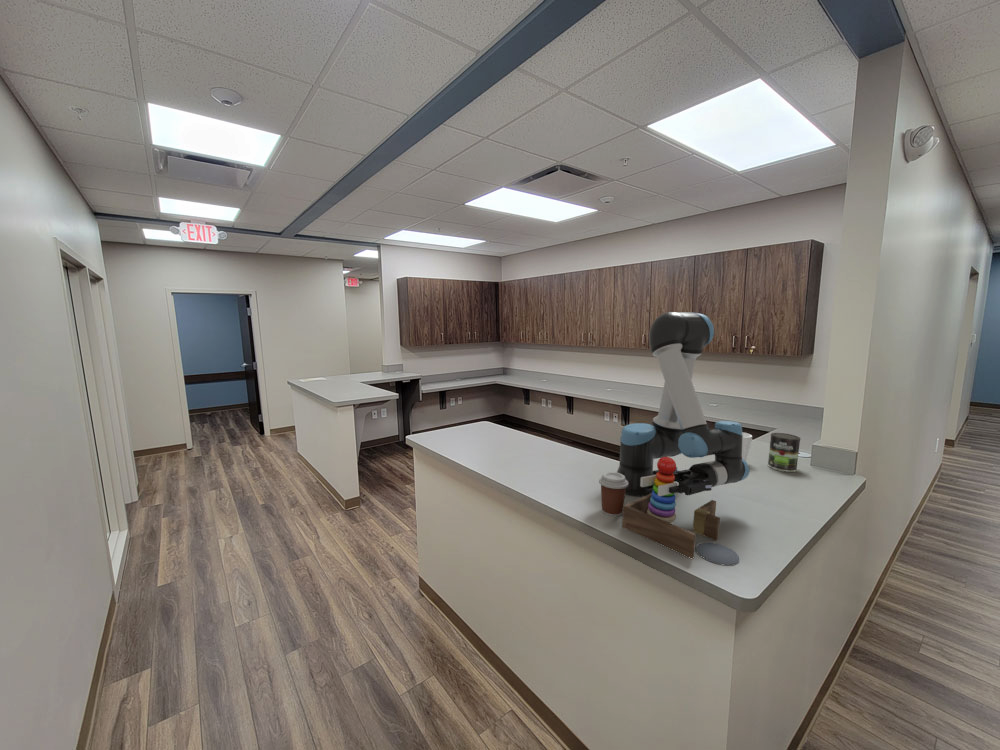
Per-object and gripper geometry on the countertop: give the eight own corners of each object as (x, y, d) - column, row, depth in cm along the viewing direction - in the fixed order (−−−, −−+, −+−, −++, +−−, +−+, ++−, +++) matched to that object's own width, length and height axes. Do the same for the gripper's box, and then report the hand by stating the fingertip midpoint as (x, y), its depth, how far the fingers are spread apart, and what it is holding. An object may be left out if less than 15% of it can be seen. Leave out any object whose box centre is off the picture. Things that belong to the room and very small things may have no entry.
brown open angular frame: (691, 559, 102) (693, 535, 101) (622, 526, 118) (623, 505, 117) (733, 528, 118) (735, 507, 117) (667, 503, 134) (668, 485, 133)
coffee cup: (592, 511, 127) (593, 475, 126) (605, 502, 134) (607, 468, 133) (619, 521, 121) (621, 483, 120) (631, 511, 128) (633, 475, 127)
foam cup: (754, 466, 171) (756, 437, 169) (732, 466, 171) (735, 437, 169) (741, 459, 180) (743, 431, 178) (720, 459, 180) (722, 431, 179)
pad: (700, 561, 101) (700, 559, 101) (692, 541, 111) (692, 539, 111) (744, 568, 98) (744, 566, 98) (732, 547, 108) (733, 545, 108)
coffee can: (795, 474, 163) (798, 440, 161) (765, 467, 170) (768, 435, 168) (798, 467, 170) (802, 435, 168) (769, 462, 177) (773, 431, 175)
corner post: (703, 535, 114) (705, 514, 113) (692, 531, 116) (694, 510, 115) (708, 532, 115) (709, 511, 115) (697, 528, 118) (699, 507, 117)
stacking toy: (679, 526, 113) (685, 464, 109) (649, 523, 114) (655, 463, 110) (671, 511, 120) (677, 453, 116) (644, 509, 122) (649, 451, 118)
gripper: (734, 499, 114) (676, 513, 105) (680, 476, 131) (626, 486, 122) (737, 473, 113) (678, 486, 104) (682, 454, 131) (627, 463, 121)
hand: (650, 486), depth 113 cm, fingers closed on stacking toy, 6 cm apart
